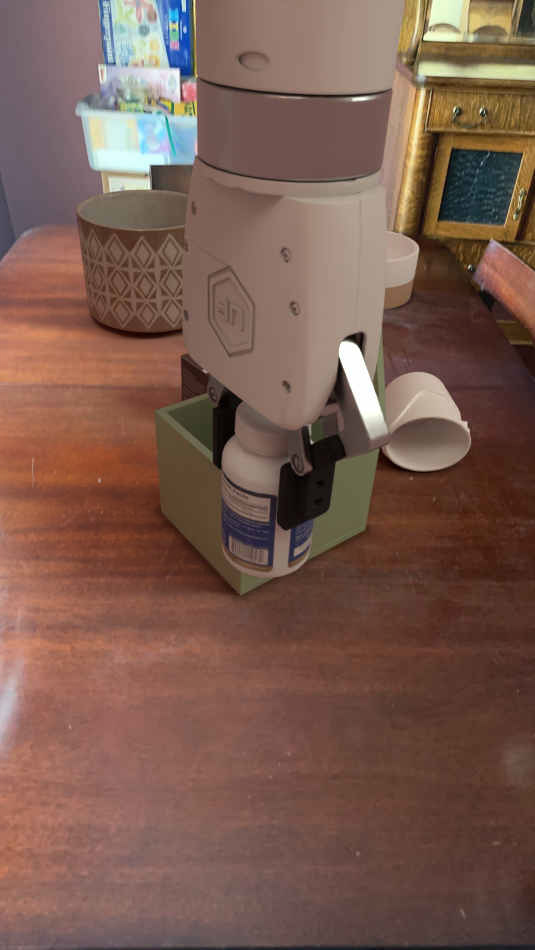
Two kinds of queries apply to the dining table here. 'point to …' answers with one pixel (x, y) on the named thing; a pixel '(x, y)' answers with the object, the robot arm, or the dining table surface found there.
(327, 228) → the robot arm
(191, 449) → the chest
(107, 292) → the planter
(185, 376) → the box
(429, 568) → the dining table surface
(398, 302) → the bowl
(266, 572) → the pill bottle
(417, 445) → the mug
